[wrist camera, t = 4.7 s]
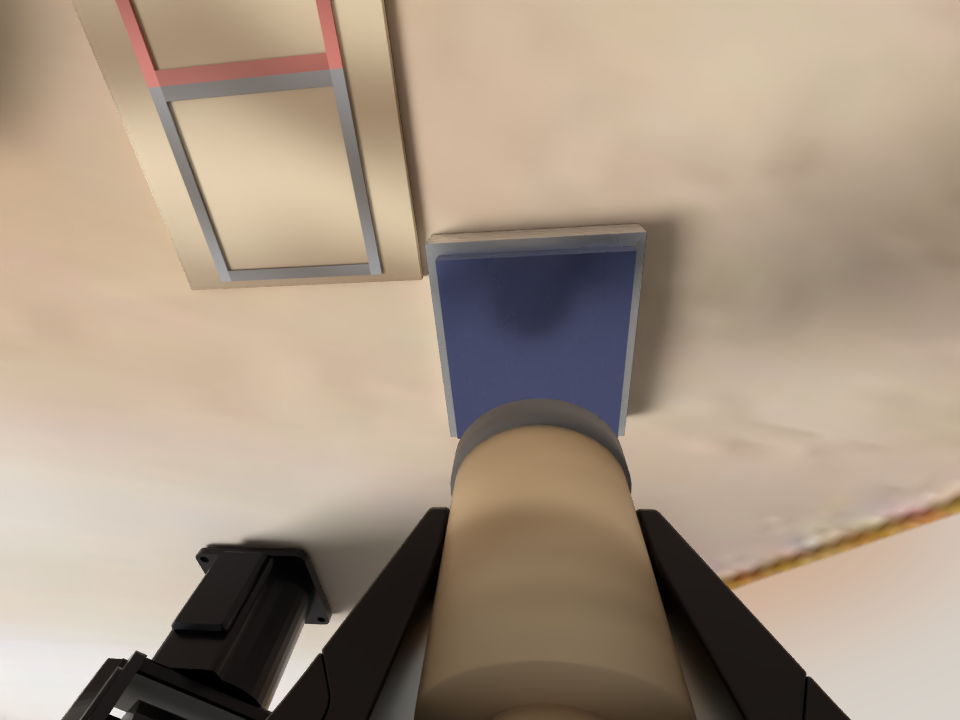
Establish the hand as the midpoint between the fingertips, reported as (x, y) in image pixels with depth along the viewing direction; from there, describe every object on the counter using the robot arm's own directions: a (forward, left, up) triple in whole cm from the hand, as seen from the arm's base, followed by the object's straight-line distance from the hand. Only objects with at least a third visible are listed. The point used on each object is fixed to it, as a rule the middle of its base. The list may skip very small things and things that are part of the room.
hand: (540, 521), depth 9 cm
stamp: (0, 0, -2) cm, 2 cm away
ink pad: (0, 0, -9) cm, 9 cm away
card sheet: (+9, +8, -9) cm, 15 cm away
